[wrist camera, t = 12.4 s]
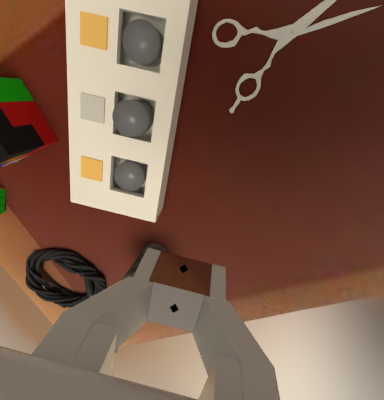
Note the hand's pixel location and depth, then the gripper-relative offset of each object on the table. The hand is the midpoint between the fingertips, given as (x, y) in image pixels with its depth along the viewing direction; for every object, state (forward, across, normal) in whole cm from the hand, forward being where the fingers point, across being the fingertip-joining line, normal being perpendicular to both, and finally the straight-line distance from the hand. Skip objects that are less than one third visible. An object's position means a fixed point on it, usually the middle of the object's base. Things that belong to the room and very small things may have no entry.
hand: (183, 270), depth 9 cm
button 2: (+28, +11, +7) cm, 31 cm away
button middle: (+26, +11, -1) cm, 28 cm away
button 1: (+28, +11, -10) cm, 31 cm away
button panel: (+29, +13, -1) cm, 32 cm away
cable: (+30, +24, +36) cm, 52 cm away
